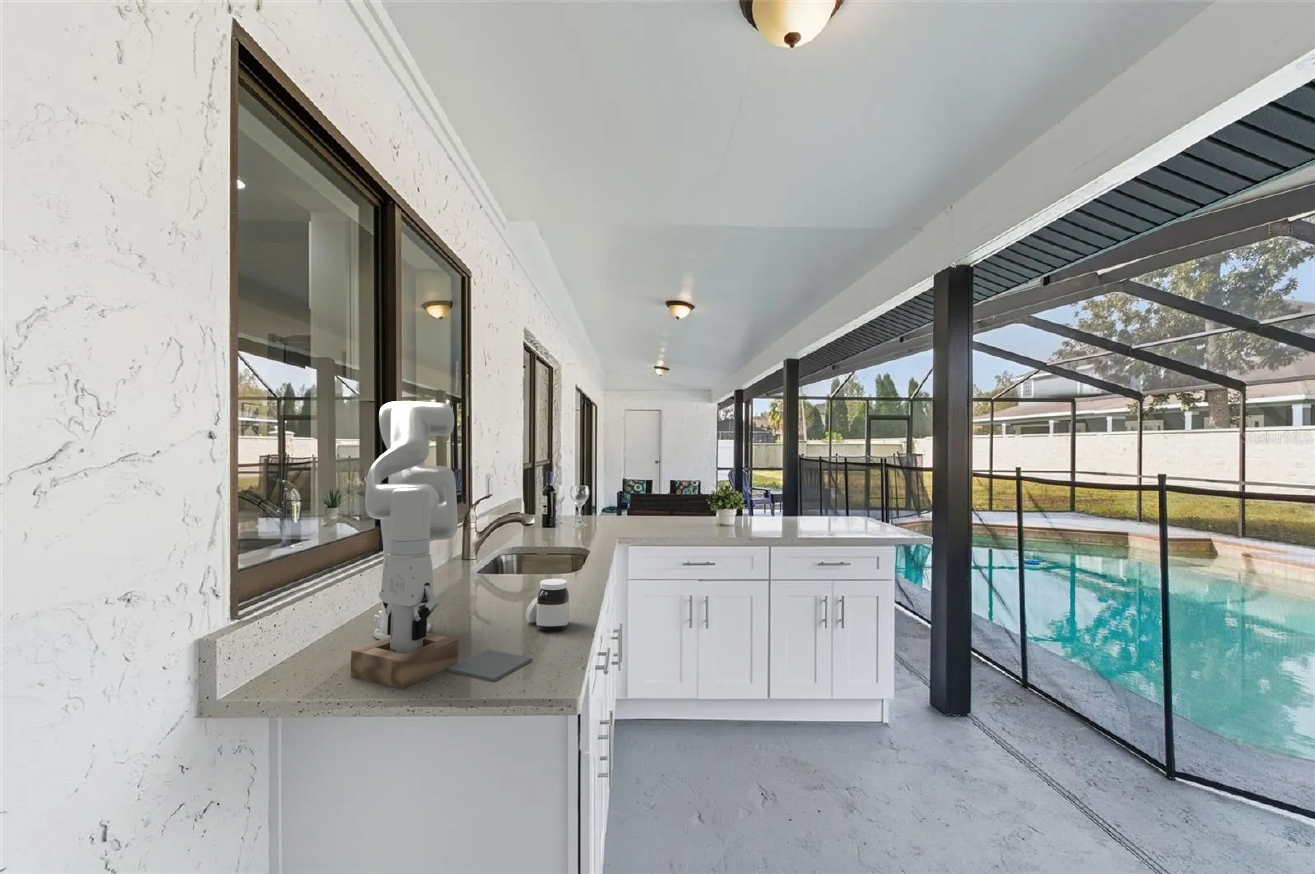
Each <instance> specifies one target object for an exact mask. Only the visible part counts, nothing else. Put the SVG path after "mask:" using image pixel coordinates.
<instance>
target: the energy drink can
mask: <svg viewBox="0 0 1315 874" xmlns="http://www.w3.org/2000/svg"><path fill="white" fill-rule="evenodd" d="M421 603H422V601H421ZM419 610H420V612H421V611H422V606H420V607H419ZM413 620H415V617H414V613H413V609H412V608H410V607H404V606H401V605H399V604H392V607H391V637H390V651H393V652H398V653H402V654H406V653H409V652H411V651H414V650H416V649H419V648H421V647H423V638H421V639H419V640H416V641H413V640H412V622H413Z"/></svg>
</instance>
